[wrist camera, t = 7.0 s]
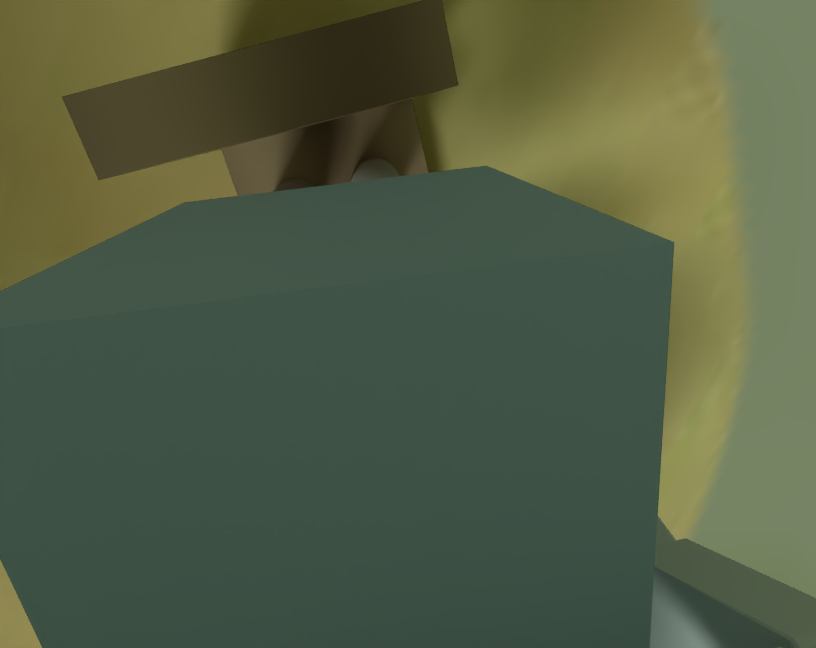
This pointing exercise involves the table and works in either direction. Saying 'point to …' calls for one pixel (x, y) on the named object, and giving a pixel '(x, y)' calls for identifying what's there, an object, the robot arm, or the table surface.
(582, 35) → the table surface
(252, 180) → the peg stand
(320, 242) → the pale blue block
